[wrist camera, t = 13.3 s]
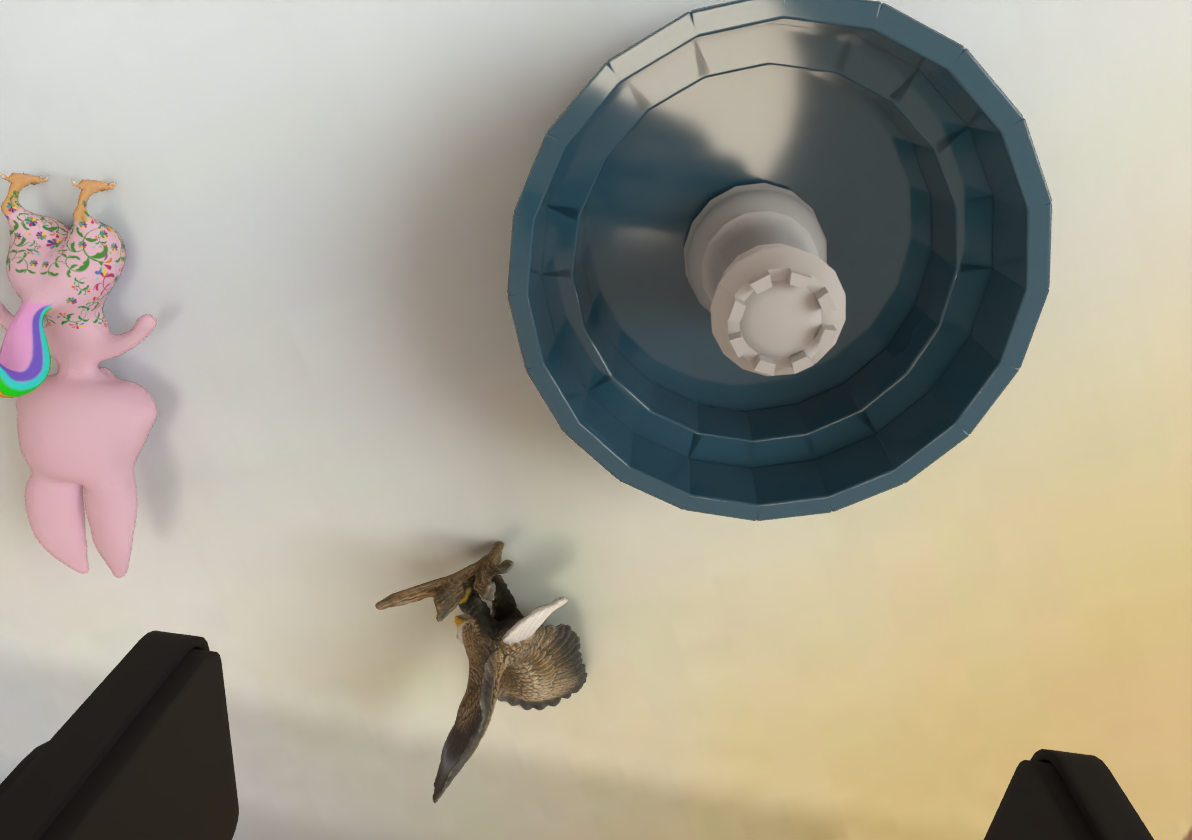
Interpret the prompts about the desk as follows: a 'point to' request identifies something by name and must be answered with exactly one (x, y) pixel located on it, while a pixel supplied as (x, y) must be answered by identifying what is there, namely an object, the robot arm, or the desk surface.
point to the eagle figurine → (497, 653)
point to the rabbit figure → (72, 381)
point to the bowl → (854, 251)
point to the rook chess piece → (765, 279)
